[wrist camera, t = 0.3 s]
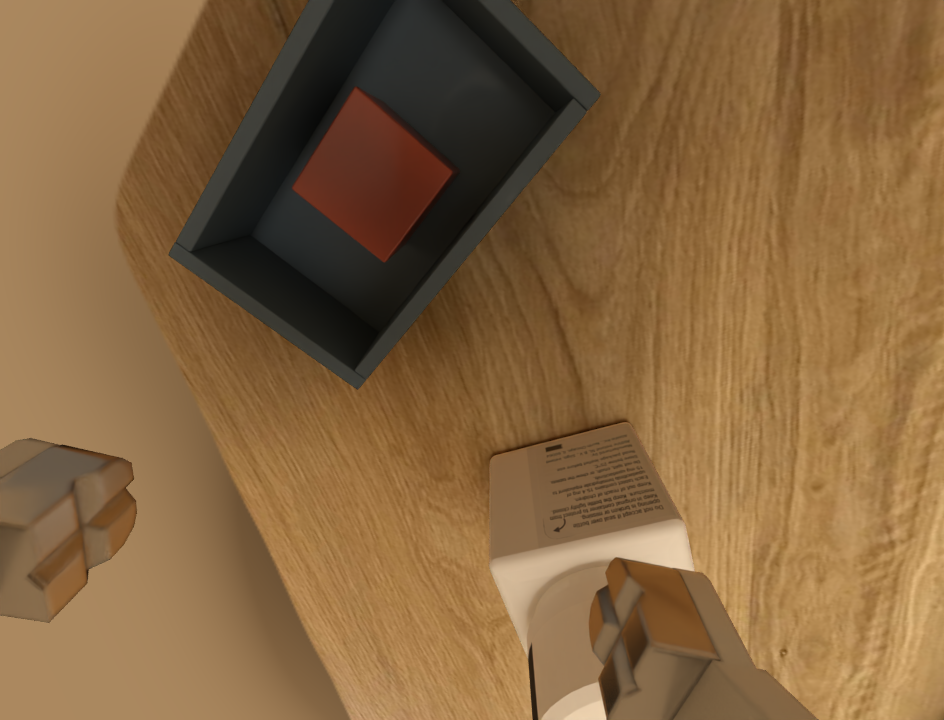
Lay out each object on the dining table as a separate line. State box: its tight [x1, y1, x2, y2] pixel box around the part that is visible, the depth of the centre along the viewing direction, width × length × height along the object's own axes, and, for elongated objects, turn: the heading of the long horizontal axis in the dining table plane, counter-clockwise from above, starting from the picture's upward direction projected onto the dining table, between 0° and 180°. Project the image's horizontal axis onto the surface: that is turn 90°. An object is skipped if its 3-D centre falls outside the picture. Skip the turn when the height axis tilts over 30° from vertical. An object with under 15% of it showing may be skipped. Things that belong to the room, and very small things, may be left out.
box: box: [168, 0, 601, 389], centre depth 17 cm, size 13×8×5 cm, turn 140°
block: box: [292, 86, 460, 263], centre depth 17 cm, size 4×4×4 cm
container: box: [489, 422, 695, 720], centre depth 20 cm, size 8×8×13 cm
